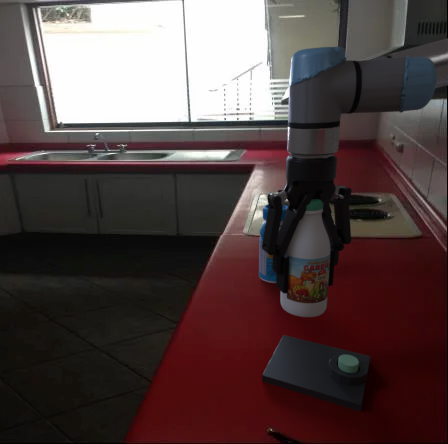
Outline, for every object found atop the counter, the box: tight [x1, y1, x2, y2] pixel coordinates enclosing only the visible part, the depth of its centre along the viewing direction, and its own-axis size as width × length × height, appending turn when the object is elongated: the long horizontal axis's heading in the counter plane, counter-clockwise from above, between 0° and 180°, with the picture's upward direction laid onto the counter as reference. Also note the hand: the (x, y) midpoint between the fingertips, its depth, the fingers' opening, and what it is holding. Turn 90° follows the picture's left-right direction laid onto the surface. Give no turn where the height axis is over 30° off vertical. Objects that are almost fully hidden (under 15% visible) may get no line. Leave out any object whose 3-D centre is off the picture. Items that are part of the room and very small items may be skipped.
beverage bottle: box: [258, 204, 288, 284], centre depth 110 cm, size 8×8×20 cm
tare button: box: [338, 355, 359, 373], centre depth 72 cm, size 3×3×2 cm
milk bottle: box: [280, 199, 330, 318], centre depth 70 cm, size 8×8×20 cm
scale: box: [261, 334, 372, 412], centre depth 75 cm, size 16×14×3 cm
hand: (304, 285), depth 72 cm, fingers closed on milk bottle, 8 cm apart
